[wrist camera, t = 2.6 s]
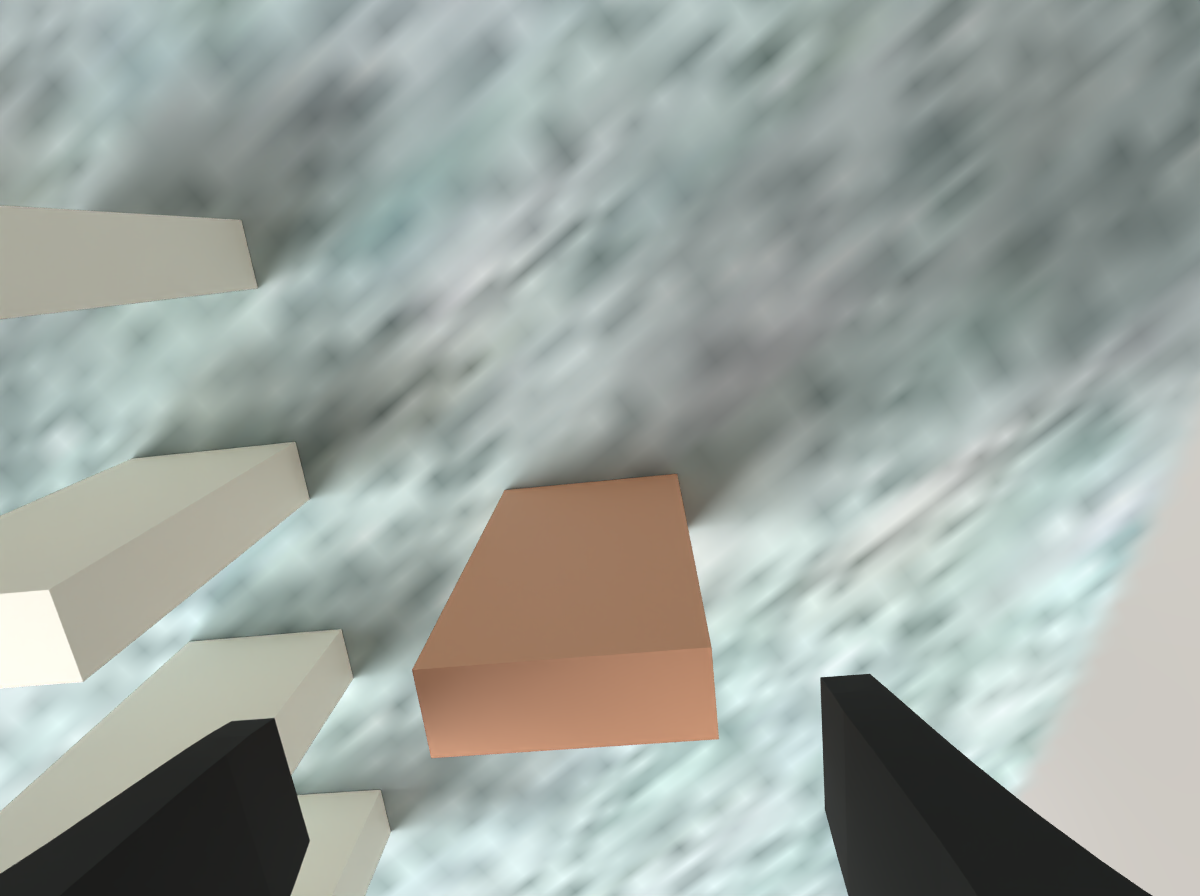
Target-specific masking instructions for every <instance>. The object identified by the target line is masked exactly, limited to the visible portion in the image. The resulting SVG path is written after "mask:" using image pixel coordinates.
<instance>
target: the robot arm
mask: <svg viewBox="0 0 1200 896" xmlns="http://www.w3.org/2000/svg"><path fill="white" fill-rule="evenodd" d="M820 681H821V709H822V737H823V765H824V794H825V811H826V815H827V819H828V823H829V827H830V830H831V834H832V838H833V842H834V845H835V849H836V853H837V857H838V860H839V864H840V867H841V871H842V874H843V878H844V882H845V885H846V889H847V892H848V896H1152V895H1150V894H1149V893H1147V892H1146V891H1144V890H1143V889H1141V888H1140V887H1138V886H1137V885H1135V884H1134V883H1132V882H1131V881H1130V880H1128V879H1127V878H1125V877H1124V876H1122V875H1121V874H1120V873H1118V872H1117V871H1115V870H1114V869H1112V868H1111V867H1109V866H1108V865H1107V864H1105V863H1104V862H1102V861H1101V860H1099V859H1098V858H1097V857H1095V856H1094V855H1093V854H1091V853H1090V852H1089V851H1087V850H1086V849H1084V848H1083V847H1082V846H1080V845H1079V844H1078V843H1076V842H1075V841H1074V840H1072V839H1071V838H1069V837H1068V836H1067V835H1065V834H1064V833H1063V832H1061V831H1060V830H1058V829H1057V828H1056V827H1054V826H1053V825H1052V824H1050V823H1049V822H1048V821H1046V820H1045V819H1044V818H1042V817H1041V816H1040V815H1038V814H1037V813H1036V812H1034V811H1033V810H1032V809H1031V808H1029V807H1028V806H1027V805H1025V804H1024V803H1023V802H1022V801H1020V800H1019V799H1018V798H1016V797H1015V796H1014V795H1013V794H1011V793H1010V792H1009V791H1008V790H1006V789H1005V788H1004V787H1003V786H1001V785H1000V784H999V783H998V782H997V781H995V780H994V779H993V778H992V777H990V776H989V775H988V774H987V773H985V772H984V771H983V770H982V769H980V768H979V767H978V766H977V765H975V764H974V763H973V762H972V761H971V760H969V759H968V758H967V757H966V756H965V755H963V754H962V753H961V752H960V751H959V750H957V749H956V748H955V747H954V746H953V745H952V744H950V743H949V742H948V741H947V740H946V739H945V738H943V737H942V736H941V735H940V734H939V733H938V732H936V731H935V730H934V729H933V728H932V727H931V726H929V725H928V724H927V723H926V722H925V721H924V720H923V719H921V718H920V717H919V716H918V715H917V714H916V713H914V712H913V711H912V710H911V709H910V708H909V707H908V706H906V705H905V704H904V703H903V702H902V701H901V700H900V699H898V698H897V697H896V696H895V695H894V694H893V693H892V692H890V691H889V690H888V689H887V688H886V687H885V686H883V685H882V684H881V683H880V682H879V681H878V680H876V679H875V678H874V677H873V676H872V675H871V674H861V675H848V676H834V677H821V678H820ZM309 842H310V839H309V835H308V832H307V828H306V825H305V821H304V818H303V815H302V811H301V808H300V804H299V801H298V797H297V794H296V790H295V787H294V783H293V780H292V776H291V773H290V770H289V766H288V763H287V759H286V756H285V752H284V749H283V745H282V742H281V738H280V735H279V732H278V728H277V725H276V721H275V718H266V719H253V720H239V721H231V722H229V723H227V724H226V725H224V726H222V727H220V728H219V729H217V730H215V731H213V732H212V733H210V734H208V735H207V736H205V737H204V738H202V739H200V740H199V741H197V742H196V743H194V744H193V745H191V746H190V747H188V748H187V749H185V750H183V751H182V752H180V753H179V754H177V755H176V756H174V757H173V758H171V759H170V760H168V761H167V762H166V763H164V764H163V765H161V766H160V767H158V768H157V769H155V770H154V771H152V772H151V773H149V774H148V775H146V776H145V777H143V778H142V779H141V780H139V781H138V782H136V783H135V784H133V785H132V786H130V787H129V788H127V789H126V790H124V791H123V792H122V793H120V794H119V795H117V796H116V797H114V798H113V799H111V800H110V801H108V802H107V803H105V804H104V805H102V806H101V807H100V808H98V809H97V810H95V811H94V812H92V813H91V814H89V815H88V816H86V817H85V818H83V819H82V820H80V821H79V822H78V823H76V824H75V825H73V826H72V827H70V828H69V829H67V830H66V831H64V832H63V833H61V834H60V835H58V836H57V837H56V838H54V839H53V840H51V841H50V842H48V843H47V844H45V845H43V846H42V847H40V848H39V849H37V850H36V851H34V852H33V853H31V854H30V855H28V856H27V857H25V858H23V859H22V860H20V861H19V862H17V863H16V864H14V865H13V866H11V867H10V868H8V869H6V870H5V871H3V872H2V873H0V896H291V893H292V890H293V888H294V885H295V882H296V879H297V877H298V874H299V871H300V868H301V865H302V862H303V859H304V857H305V854H306V851H307V848H308V845H309Z"/></svg>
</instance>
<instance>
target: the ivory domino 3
mask: <svg viewBox="0 0 1200 896" xmlns="http://www.w3.org/2000/svg"><path fill="white" fill-rule="evenodd" d="M352 680H353V675H352V670H351V666H350V662H349V658H348V654H347V650H346V646H345V642H344V638H343V634H342V630H341V629H336V630H324V631H312V632H299V633H287V634H275V635H263V636H250V637H238V638H226V639H214V640H201V641H189V642H188V643H187V644H186V645H185V646H184V647H183V648H181V649H180V650H179V651H178V652H177V653H176V654H175V655H174V656H173V657H171V658H170V659H169V660H168V661H167V662H166V663H165V664H164V665H163V666H161V667H160V668H159V669H158V670H157V671H156V672H155V673H154V674H153V675H151V676H150V677H149V678H148V679H147V680H146V681H145V682H144V683H143V684H141V685H140V686H139V687H138V688H137V689H136V690H135V691H134V692H133V693H131V694H130V695H129V696H128V697H127V698H126V699H125V700H124V701H123V702H121V703H120V704H119V705H118V706H117V707H116V708H115V709H114V710H113V711H111V712H110V713H109V714H108V715H107V716H106V717H105V718H104V719H102V720H101V721H100V722H99V723H98V724H97V725H96V726H95V727H94V728H92V729H91V730H90V731H89V732H88V733H87V734H86V735H85V736H84V737H82V738H81V739H80V740H79V741H78V742H77V743H76V744H75V745H74V746H72V747H71V748H70V749H69V750H68V751H67V752H66V753H65V754H64V755H62V756H61V757H60V758H59V759H58V760H57V761H56V762H55V763H54V764H52V765H51V766H50V767H49V768H48V769H47V770H46V771H45V772H44V773H42V774H41V775H40V776H39V777H38V778H37V779H36V780H35V781H34V782H32V783H31V784H30V785H29V786H28V787H27V788H26V789H25V790H24V791H22V792H21V793H20V794H19V795H18V796H17V797H16V798H15V799H14V800H12V801H11V802H10V803H9V804H8V805H7V806H6V807H5V808H4V809H2V810H1V811H0V873H2V872H3V871H5V870H6V869H8V868H10V867H11V866H13V865H14V864H16V863H17V862H19V861H20V860H22V859H23V858H25V857H27V856H28V855H30V854H31V853H33V852H34V851H36V850H37V849H39V848H40V847H42V846H43V845H45V844H47V843H48V842H50V841H51V840H53V839H54V838H56V837H57V836H58V835H60V834H61V833H63V832H64V831H66V830H67V829H69V828H70V827H72V826H73V825H75V824H76V823H78V822H79V821H80V820H82V819H83V818H85V817H86V816H88V815H89V814H91V813H92V812H94V811H95V810H97V809H98V808H100V807H101V806H102V805H104V804H105V803H107V802H108V801H110V800H111V799H113V798H114V797H116V796H117V795H119V794H120V793H122V792H123V791H124V790H126V789H127V788H129V787H130V786H132V785H133V784H135V783H136V782H138V781H139V780H141V779H142V778H143V777H145V776H146V775H148V774H149V773H151V772H152V771H154V770H155V769H157V768H158V767H160V766H161V765H163V764H164V763H166V762H167V761H168V760H170V759H171V758H173V757H174V756H176V755H177V754H179V753H180V752H182V751H183V750H185V749H187V748H188V747H190V746H191V745H193V744H194V743H196V742H197V741H199V740H200V739H202V738H204V737H205V736H207V735H208V734H210V733H212V732H213V731H215V730H217V729H219V728H220V727H222V726H224V725H226V724H227V723H229V722H231V721H239V720H253V719H266V718H275V721H276V725H277V728H278V732H279V735H280V738H281V742H282V745H283V749H284V752H285V756H286V759H287V763H288V766H289V770H290V773H291V775H292V774H293V772H294V770H295V769H296V767H297V766H298V764H299V763H300V761H301V759H302V758H303V756H304V755H305V753H306V752H307V750H308V749H309V747H310V745H311V744H312V742H313V741H314V739H315V738H316V736H317V734H318V733H319V731H320V730H321V728H322V727H323V725H324V724H325V722H326V720H327V719H328V717H329V716H330V714H331V713H332V711H333V709H334V708H335V706H336V705H337V703H338V702H339V700H340V699H341V697H342V695H343V694H344V692H345V691H346V689H347V688H348V686H349V684H350V683H351V681H352Z"/></svg>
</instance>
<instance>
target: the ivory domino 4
mask: <svg viewBox="0 0 1200 896" xmlns="http://www.w3.org/2000/svg"><path fill="white" fill-rule="evenodd" d="M297 797H298V801H299V804H300V808H301V811H302V815H303V818H304V821H305V825H306V828H307V832H308V835H309V839H310V842H309V845H308V848H307V851H306V854H305V857H304V859H303V862H302V865H301V868H300V871H299V874H298V877H297V879H296V882H295V885H294V888H293V890H292V893H291V896H365V894H366V892H367V890H368V887H369V885H370V882H371V880H372V877H373V875H374V872H375V870H376V868H377V865H378V863H379V860H380V858H381V855H382V853H383V850H384V848H385V845H386V843H387V841H388V838H389V836H390V833H391V830H390V826H389V822H388V818H387V814H386V810H385V806H384V802H383V798H382V793H381V790H367V791H351V792H336V793H320V794H304V795H297Z"/></svg>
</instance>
